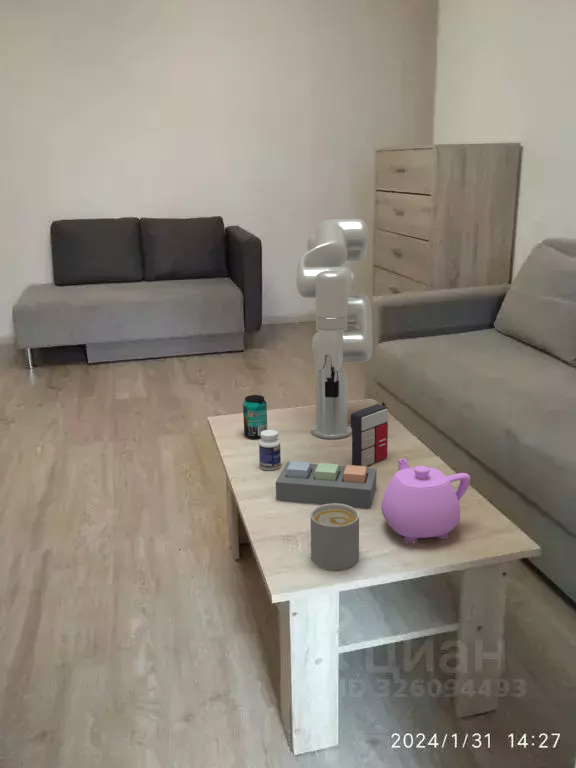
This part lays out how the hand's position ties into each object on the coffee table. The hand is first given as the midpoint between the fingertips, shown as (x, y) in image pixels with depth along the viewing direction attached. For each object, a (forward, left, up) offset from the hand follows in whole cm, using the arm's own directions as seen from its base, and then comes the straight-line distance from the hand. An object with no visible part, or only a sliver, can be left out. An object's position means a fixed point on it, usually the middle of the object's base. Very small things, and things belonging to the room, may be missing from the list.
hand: (331, 396), depth 175 cm
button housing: (+7, 0, -23) cm, 24 cm away
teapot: (+18, +24, -24) cm, 38 cm away
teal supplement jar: (-27, -28, -24) cm, 46 cm away
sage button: (+7, 0, -21) cm, 22 cm away
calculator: (-14, +8, -24) cm, 29 cm away
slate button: (+7, -7, -21) cm, 23 cm away
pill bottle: (-6, -18, -24) cm, 30 cm away
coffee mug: (+34, +6, -24) cm, 41 cm away
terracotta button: (+7, +7, -21) cm, 23 cm away
